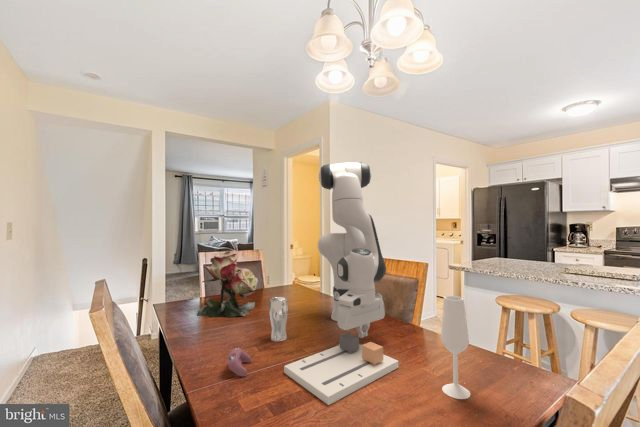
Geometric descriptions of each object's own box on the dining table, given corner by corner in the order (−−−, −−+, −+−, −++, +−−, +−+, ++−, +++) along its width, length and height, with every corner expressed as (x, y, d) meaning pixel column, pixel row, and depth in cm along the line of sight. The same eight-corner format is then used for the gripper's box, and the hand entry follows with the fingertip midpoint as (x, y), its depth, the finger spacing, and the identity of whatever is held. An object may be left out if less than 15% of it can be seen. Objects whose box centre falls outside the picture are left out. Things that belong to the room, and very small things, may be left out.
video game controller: (240, 366, 93) (230, 347, 93) (253, 359, 93) (243, 340, 93) (233, 383, 83) (222, 362, 83) (248, 375, 84) (236, 354, 84)
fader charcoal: (348, 344, 99) (348, 332, 99) (358, 349, 95) (358, 336, 95) (339, 347, 97) (339, 335, 97) (350, 352, 93) (350, 340, 93)
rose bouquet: (254, 317, 137) (253, 253, 138) (192, 318, 137) (192, 254, 138) (264, 302, 163) (264, 248, 164) (212, 302, 163) (212, 249, 164)
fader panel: (351, 346, 104) (351, 340, 104) (398, 367, 88) (398, 360, 88) (284, 372, 86) (284, 365, 86) (328, 405, 70) (328, 396, 70)
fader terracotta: (370, 354, 91) (370, 341, 92) (383, 360, 88) (383, 346, 88) (361, 358, 89) (361, 345, 89) (374, 364, 85) (374, 350, 85)
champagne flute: (462, 383, 79) (459, 294, 80) (476, 398, 72) (473, 301, 73) (437, 384, 79) (435, 295, 79) (449, 399, 72) (446, 301, 73)
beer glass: (284, 342, 107) (284, 301, 108) (266, 341, 109) (266, 301, 109) (290, 335, 114) (289, 297, 114) (273, 334, 115) (273, 296, 116)
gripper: (375, 290, 110) (375, 327, 109) (334, 299, 97) (334, 341, 96) (388, 293, 105) (389, 332, 104) (347, 303, 92) (348, 347, 91)
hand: (362, 336), depth 100 cm, fingers closed
